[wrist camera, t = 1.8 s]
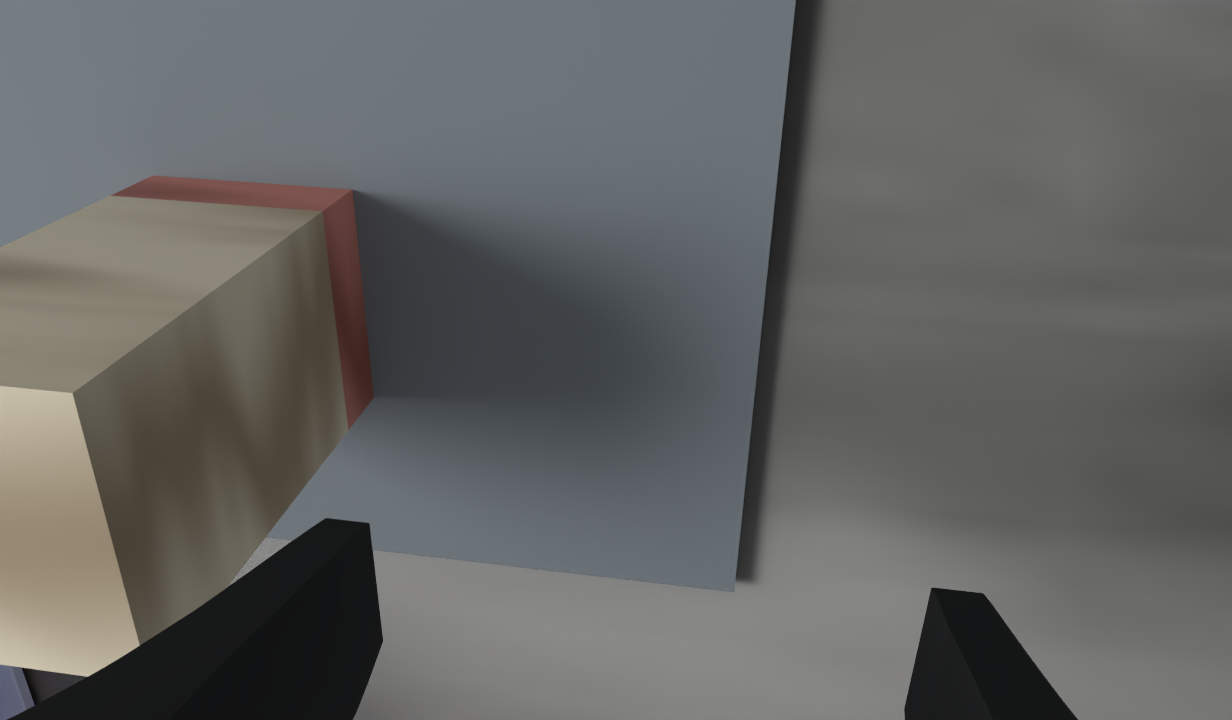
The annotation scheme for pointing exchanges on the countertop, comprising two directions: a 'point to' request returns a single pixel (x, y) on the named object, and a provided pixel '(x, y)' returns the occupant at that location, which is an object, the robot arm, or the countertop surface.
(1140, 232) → the countertop surface
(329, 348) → the birch block
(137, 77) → the slate mat
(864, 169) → the countertop surface
